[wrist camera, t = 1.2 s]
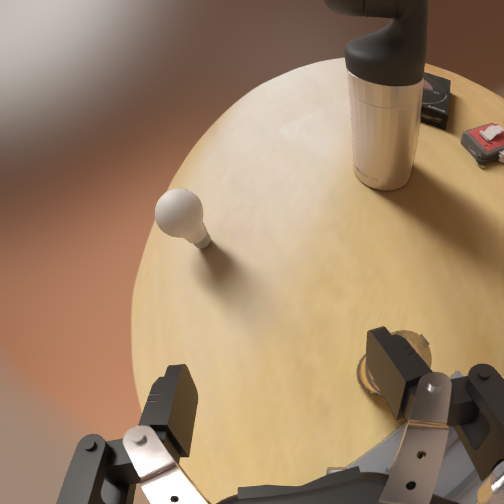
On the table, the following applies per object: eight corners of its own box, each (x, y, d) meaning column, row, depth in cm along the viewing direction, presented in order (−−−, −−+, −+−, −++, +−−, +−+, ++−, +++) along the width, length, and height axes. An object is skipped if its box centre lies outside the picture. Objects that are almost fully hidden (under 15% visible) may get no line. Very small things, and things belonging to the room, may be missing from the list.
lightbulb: (191, 226, 43) (154, 182, 34) (227, 224, 41) (195, 175, 32) (182, 262, 40) (139, 222, 31) (220, 262, 38) (182, 218, 29)
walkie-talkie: (484, 177, 32) (531, 154, 30) (492, 159, 28) (538, 139, 26) (453, 143, 37) (505, 126, 35) (458, 124, 33) (510, 111, 31)
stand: (455, 371, 23) (466, 368, 20) (514, 456, 13) (526, 459, 11) (346, 466, 22) (347, 473, 19) (417, 544, 12) (422, 554, 10)
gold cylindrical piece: (380, 341, 28) (405, 313, 17) (407, 372, 25) (446, 361, 15) (346, 370, 27) (353, 360, 17) (373, 402, 25) (395, 411, 14)
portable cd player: (448, 93, 43) (450, 79, 40) (444, 131, 38) (448, 115, 35) (384, 75, 51) (383, 61, 47) (366, 107, 46) (365, 91, 43)
